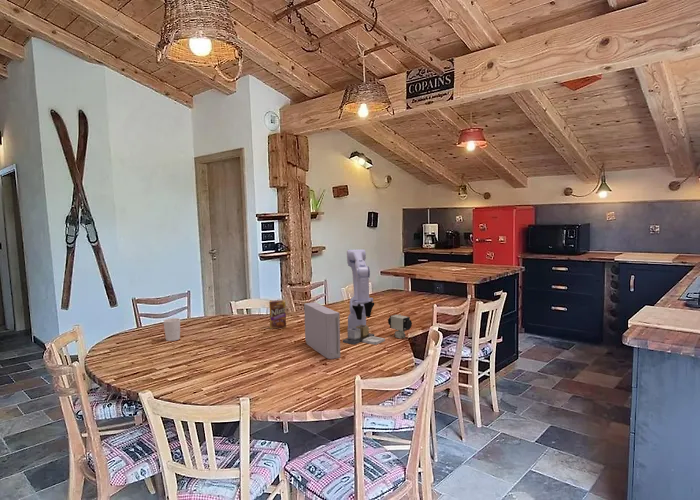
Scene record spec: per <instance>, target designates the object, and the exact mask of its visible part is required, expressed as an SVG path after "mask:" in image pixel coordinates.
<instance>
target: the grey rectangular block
mask: <svg viewBox="0 0 700 500" xmlns="http://www.w3.org/2000/svg"><path fill="white" fill-rule="evenodd" d="M347 329H348V328H347ZM346 331H347V338H348V340H352V341H357V340H359V339H361V334H360V329H358V328H351V329H348V330H346Z"/></svg>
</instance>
